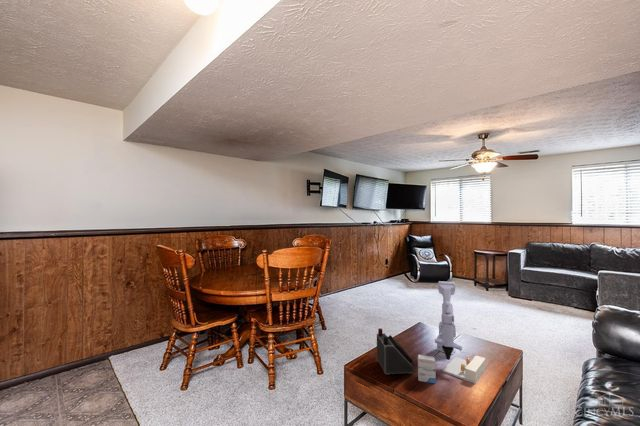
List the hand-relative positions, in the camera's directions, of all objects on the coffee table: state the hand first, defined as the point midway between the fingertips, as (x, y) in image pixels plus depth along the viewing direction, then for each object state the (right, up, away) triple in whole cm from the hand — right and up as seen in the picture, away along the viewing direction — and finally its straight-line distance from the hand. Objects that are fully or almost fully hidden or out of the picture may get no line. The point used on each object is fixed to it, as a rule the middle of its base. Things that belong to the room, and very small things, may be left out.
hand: (448, 358), depth 159 cm
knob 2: (+12, -3, -1) cm, 12 cm away
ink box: (-17, -5, -12) cm, 22 cm away
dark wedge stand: (-31, -5, 0) cm, 31 cm away
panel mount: (+7, -4, -4) cm, 9 cm away
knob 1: (+5, -3, -8) cm, 10 cm away
